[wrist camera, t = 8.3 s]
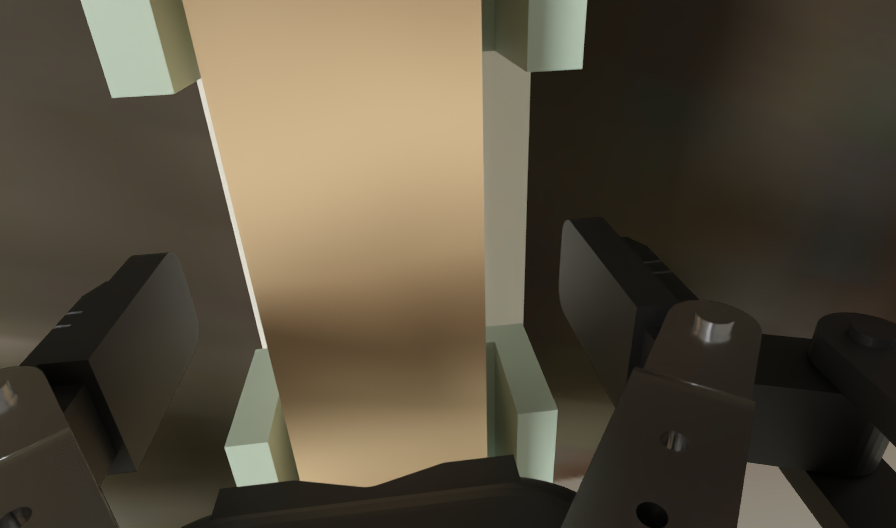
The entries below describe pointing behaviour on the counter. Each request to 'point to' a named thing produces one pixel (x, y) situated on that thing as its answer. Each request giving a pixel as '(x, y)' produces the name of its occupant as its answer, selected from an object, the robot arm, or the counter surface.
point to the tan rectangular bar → (359, 219)
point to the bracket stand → (505, 207)
